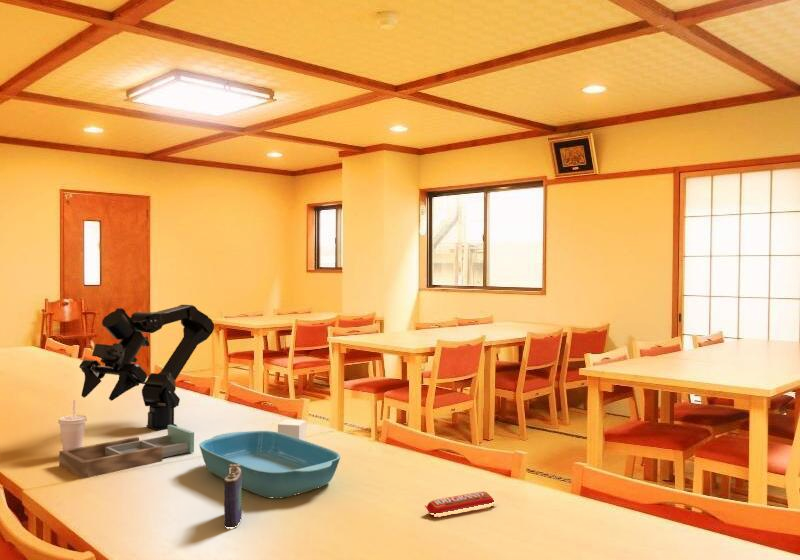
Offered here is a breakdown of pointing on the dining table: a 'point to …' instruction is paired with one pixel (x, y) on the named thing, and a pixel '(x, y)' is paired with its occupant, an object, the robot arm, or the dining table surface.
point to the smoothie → (72, 429)
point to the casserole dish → (271, 461)
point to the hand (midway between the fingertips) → (96, 398)
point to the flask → (232, 496)
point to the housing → (106, 458)
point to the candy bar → (459, 502)
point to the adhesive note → (293, 428)
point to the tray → (159, 443)
